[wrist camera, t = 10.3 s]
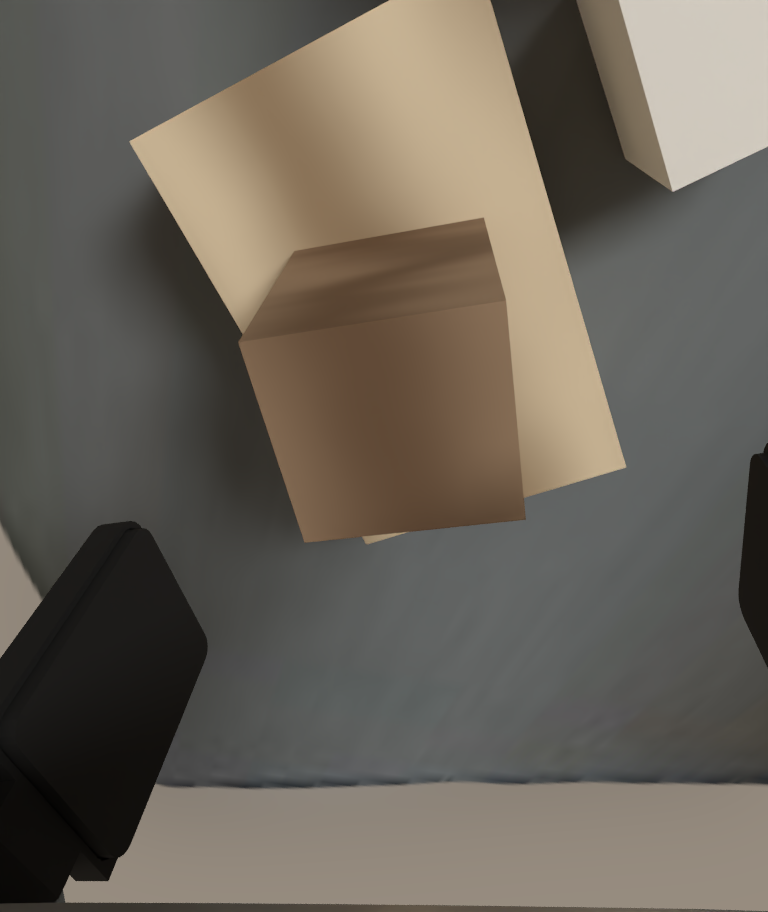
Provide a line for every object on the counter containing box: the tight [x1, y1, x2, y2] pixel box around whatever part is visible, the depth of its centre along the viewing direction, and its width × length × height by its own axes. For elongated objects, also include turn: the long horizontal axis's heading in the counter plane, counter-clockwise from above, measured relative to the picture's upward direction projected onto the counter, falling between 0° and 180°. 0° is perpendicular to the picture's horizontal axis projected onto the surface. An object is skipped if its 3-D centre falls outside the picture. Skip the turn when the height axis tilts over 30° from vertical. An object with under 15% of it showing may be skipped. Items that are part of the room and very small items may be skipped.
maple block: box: [129, 0, 626, 544], centre depth 21 cm, size 9×14×6 cm, turn 24°
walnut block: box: [238, 218, 526, 543], centre depth 16 cm, size 5×5×6 cm
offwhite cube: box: [576, 0, 768, 192], centre depth 17 cm, size 5×5×5 cm
